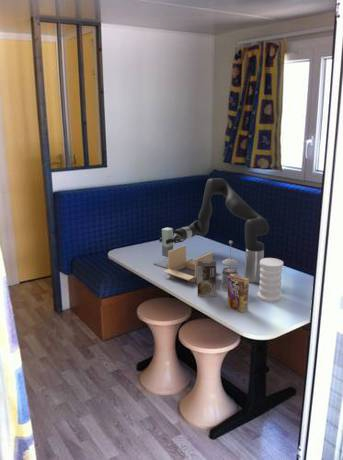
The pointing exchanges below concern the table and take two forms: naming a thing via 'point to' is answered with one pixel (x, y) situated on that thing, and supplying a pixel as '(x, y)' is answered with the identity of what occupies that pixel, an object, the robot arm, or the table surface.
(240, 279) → the candy box
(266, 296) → the decorative container
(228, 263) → the french press
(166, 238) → the box
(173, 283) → the table surface
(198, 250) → the table surface
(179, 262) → the carton
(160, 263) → the mat
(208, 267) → the coffee box
